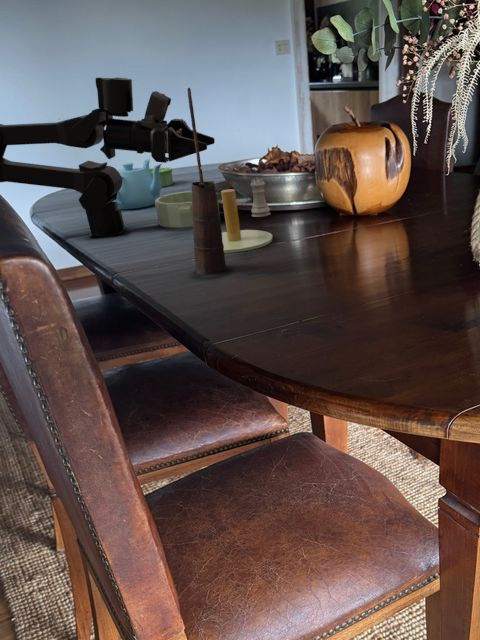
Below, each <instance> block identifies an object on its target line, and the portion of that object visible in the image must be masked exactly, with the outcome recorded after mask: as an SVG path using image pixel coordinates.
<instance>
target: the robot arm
mask: <svg viewBox="0 0 480 640" xmlns="http://www.w3.org/2000/svg"><path fill="white" fill-rule="evenodd" d="M95 87H96V91H97V93H96V94H97V105H98V107H97V108H94V109H92V110H91V112H89V113H88V114H84V115H79V116H76V117H72V118H68V119H65V120H61V121H57V122H37V123H35V122H34V123H19V124H18V123H16V124H2V123H0V183H13V184H23V185H30V186H31V185H33V186H41V187H48V188H49V187H50V188H58V189H67V190H73V191H76V192H77V193H80V194H81V195H80V196H79V198H78V203H79V204H80V206H81V207H82V209H83V210H85V211H84V212H85V215H86V218H87V222H88V226H89V231H90V234H89V238H91V239H92V238H103V237H110V236H111V237H112V236H119V235H121V234H122V233H123V231H124V229H125V223H124V217H123V214H122V213H123V212H122V209H118V207H117V203H116V202H113V201H114V200H116V199H117V192H118V191H119V190H120V189H121V187H122V177H121V175H120V173H119V172H118V171H117V170H118V169H117V168H116V167H114V166H111V165H108V162H107V161H106V162H101V163H100V162H96V161H94V160H93V161H92V160H86V161H84V162H82V163H80V164H78V168H71V167H62V166H55V165H47V164H38V163H28V162H21V161H12V160H9V159H7V158H5V157H4V156H5V153H6V150H7V147H8V146H21V145H23V146H24V145H25V146H26V145H43V144H44V145H45V144H58V145H63V146H67V147H71V148H79V149H88V148H92V147H93V146H96V145H99V144H100V143H102V141H103V145H102V147H100V149H99V151H101V152H102V153H103V154H104V155H105V157H106V158H107V159H108V160H112V159H113V158H115V157H116V150H117V151H118V150H120V151H130V152H136V154H139V155H140V154H144V153H149V154H150V155H151V156H150V157H151V158H152V159H153V160H154V161H155V162H156V163H162V164H167V162H170V163H171V162H173V161H175V160H176V161H177V160H179V159H183V158H184V157H188V156H191V155H194V154H195V155H196V147H195V141H194V134H193V129H191V128H190V126H189V125H188V123H187V121H185V120H184V119H183V118H173V119H171V120H170V121H169V122H168V120H165V119H166V115H167V111H168V109H169V106H170V105H171V102H172V98H171V97H169V96H167V95H166V94H165V93H161V92H159V91H157V90H154V91H152V92H151V93H150V96H149V99H148V103H147V105H146V109H145V113H144V118H141V120H140V119H139V120H130V119H121V118H124V117H125V118H126V117H129V113H131V112H133V111H134V97H133V96H134V95H133V79H132V78H126V77H95ZM114 117H118V118H114ZM119 117H121V118H119ZM196 132H197V140H198V148H199V153H201V152H204V151H207V149H208V147H209V146H212V145H214V144H215V141H216V139H215V138H214V137H213V136H210V135H207V134H204V133H201V132H198V131H196ZM166 154H167V155H168V156H166Z"/></svg>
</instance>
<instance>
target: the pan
mask: <svg viewBox="0 0 480 640" xmlns="http://www.w3.org/2000/svg"><path fill="white" fill-rule="evenodd" d="M216 194H217V195H218V193H217V192H216ZM218 197H219V196H217V202H218V209H219V215H220V216H221V211H220V205H219V198H218ZM154 206H155V210H156V216H157V220H158V225H159V226H161V227H164V228H165V227H166V228H189V227H193V220H192V217H193V214H192V190H190V191H189V190H188V191H181V192H175V193H168V194H165V195H162V196H161V195H160V197H159V198H157V199H156V200H155V204H154Z"/></svg>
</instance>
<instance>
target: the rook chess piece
mask: <svg viewBox="0 0 480 640" xmlns="http://www.w3.org/2000/svg"><path fill="white" fill-rule="evenodd" d="M250 181H251V182H250V184H249V186H250V187H251V188H252V191H251V193H252V195H253V201H252V202H253V203H252V206H251V209H250V213H252V214H251V217H254V218H261V217H267V216H270V215H271V214H272V213H271V212H270V211H271V208H270V207H269V206H268V204H267V201H266V197H265V188H264V186H265V184H266V182H265V181H264V178H252V179H251V180H250Z"/></svg>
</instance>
